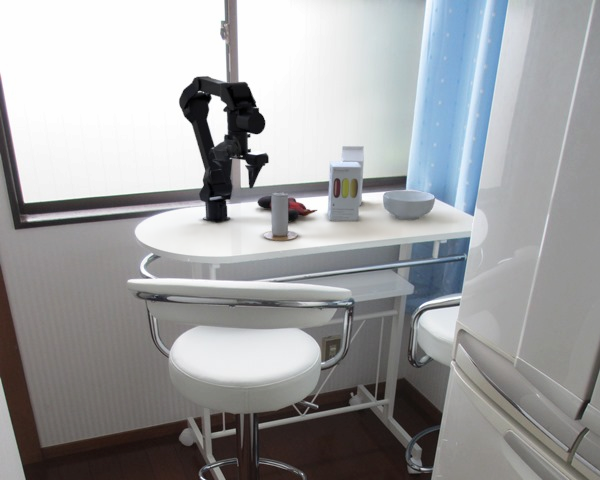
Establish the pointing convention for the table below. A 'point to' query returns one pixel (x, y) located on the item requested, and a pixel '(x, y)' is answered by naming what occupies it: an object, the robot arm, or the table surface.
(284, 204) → the beverage can
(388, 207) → the cereal bowl
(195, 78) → the robot arm
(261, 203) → the toy motorcycle
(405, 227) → the table surface
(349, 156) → the milk carton
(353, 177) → the supplement box
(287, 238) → the cork coaster
